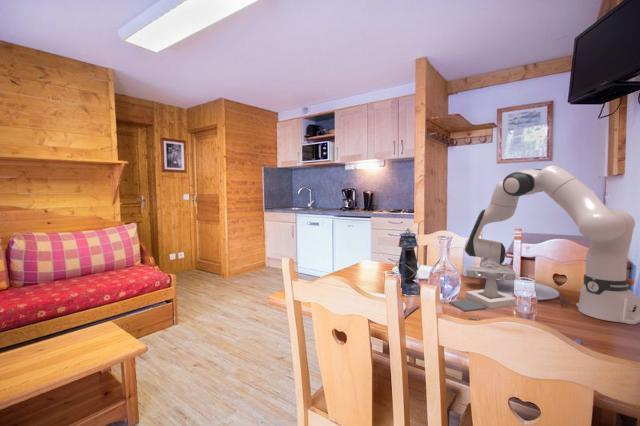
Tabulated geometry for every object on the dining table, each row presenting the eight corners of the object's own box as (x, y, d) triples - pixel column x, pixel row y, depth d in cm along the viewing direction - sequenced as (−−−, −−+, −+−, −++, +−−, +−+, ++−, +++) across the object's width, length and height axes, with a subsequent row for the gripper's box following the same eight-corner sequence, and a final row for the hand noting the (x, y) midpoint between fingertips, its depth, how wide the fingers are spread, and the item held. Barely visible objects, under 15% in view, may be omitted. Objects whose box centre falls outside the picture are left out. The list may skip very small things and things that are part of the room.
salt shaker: (500, 303, 128) (501, 272, 128) (485, 302, 130) (486, 272, 129) (495, 298, 134) (496, 269, 133) (481, 298, 135) (481, 268, 134)
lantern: (416, 299, 136) (415, 231, 134) (389, 294, 143) (389, 229, 141) (426, 289, 149) (426, 227, 146) (401, 285, 156) (401, 226, 154)
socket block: (491, 293, 140) (491, 288, 140) (518, 304, 127) (518, 298, 127) (465, 297, 137) (465, 291, 137) (489, 308, 123) (489, 302, 123)
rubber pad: (468, 300, 133) (468, 299, 133) (486, 308, 123) (486, 307, 123) (448, 303, 130) (448, 301, 130) (464, 311, 121) (465, 310, 121)
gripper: (466, 262, 157) (465, 268, 145) (513, 265, 148) (516, 273, 135) (466, 274, 157) (465, 282, 145) (513, 278, 148) (516, 287, 136)
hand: (490, 277), depth 140 cm, fingers open, 8 cm apart
